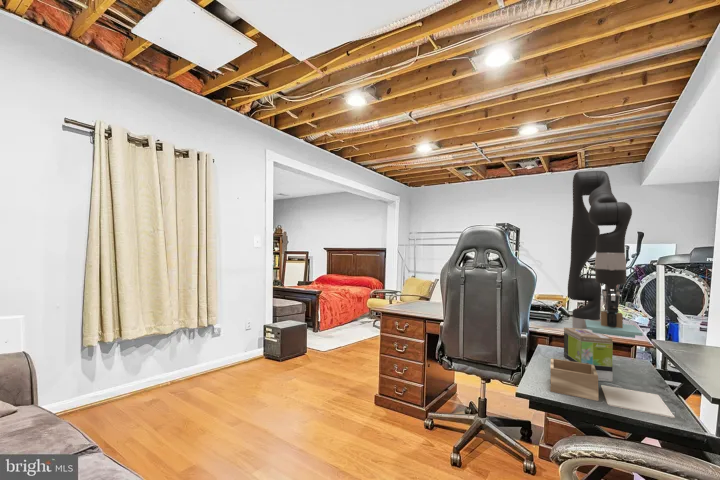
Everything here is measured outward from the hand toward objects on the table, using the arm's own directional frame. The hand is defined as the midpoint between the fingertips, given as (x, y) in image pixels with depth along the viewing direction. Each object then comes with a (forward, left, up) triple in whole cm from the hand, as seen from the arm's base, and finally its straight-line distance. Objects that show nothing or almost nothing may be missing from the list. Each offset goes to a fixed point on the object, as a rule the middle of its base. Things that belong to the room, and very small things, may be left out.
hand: (611, 325), depth 100 cm
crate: (0, -10, -21) cm, 23 cm away
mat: (0, +5, -21) cm, 22 cm away
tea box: (-20, -5, -21) cm, 30 cm away
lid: (0, 0, -2) cm, 2 cm away
